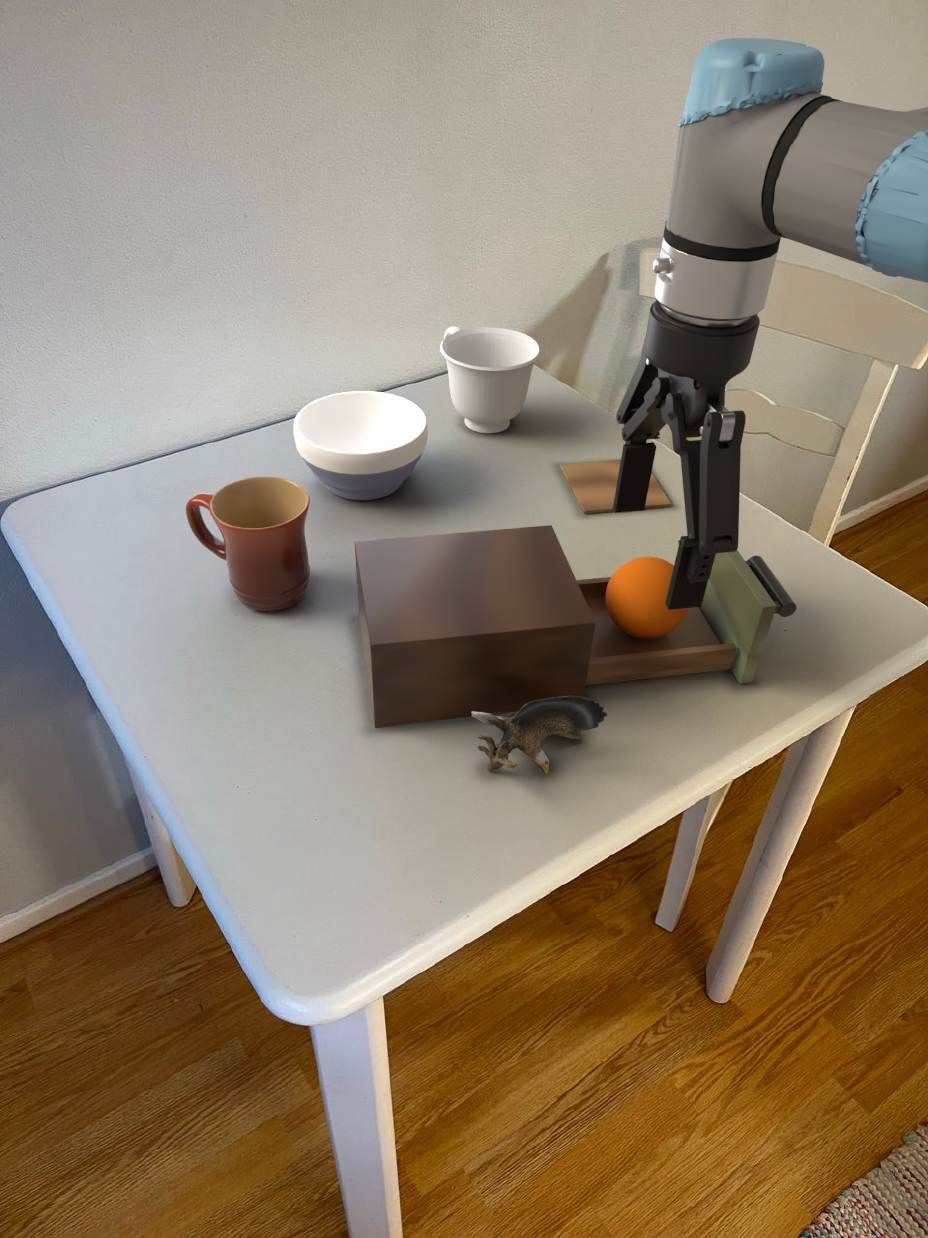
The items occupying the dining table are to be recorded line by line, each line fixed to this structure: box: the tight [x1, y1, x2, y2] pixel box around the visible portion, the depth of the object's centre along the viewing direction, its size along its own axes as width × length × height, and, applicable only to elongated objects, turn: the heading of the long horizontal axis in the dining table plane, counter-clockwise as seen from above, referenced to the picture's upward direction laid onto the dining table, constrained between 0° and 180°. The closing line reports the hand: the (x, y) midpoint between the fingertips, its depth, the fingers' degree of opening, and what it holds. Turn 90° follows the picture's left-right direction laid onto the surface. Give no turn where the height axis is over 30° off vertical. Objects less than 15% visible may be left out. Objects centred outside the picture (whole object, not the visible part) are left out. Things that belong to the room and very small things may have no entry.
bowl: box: [293, 390, 429, 501], centre depth 99 cm, size 14×14×8 cm
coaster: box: [559, 459, 672, 515], centre depth 102 cm, size 10×10×1 cm
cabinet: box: [353, 524, 595, 728], centre depth 77 cm, size 18×14×9 cm
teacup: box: [439, 325, 542, 434], centre depth 111 cm, size 12×15×10 cm
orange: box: [606, 556, 688, 639], centre depth 79 cm, size 7×7×7 cm
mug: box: [185, 475, 311, 612], centre depth 83 cm, size 12×9×10 cm
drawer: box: [576, 549, 798, 686], centre depth 79 cm, size 22×14×9 cm, turn 100°
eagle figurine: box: [471, 695, 608, 774], centre depth 70 cm, size 8×7×9 cm
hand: (653, 554), depth 76 cm, fingers open, 13 cm apart
